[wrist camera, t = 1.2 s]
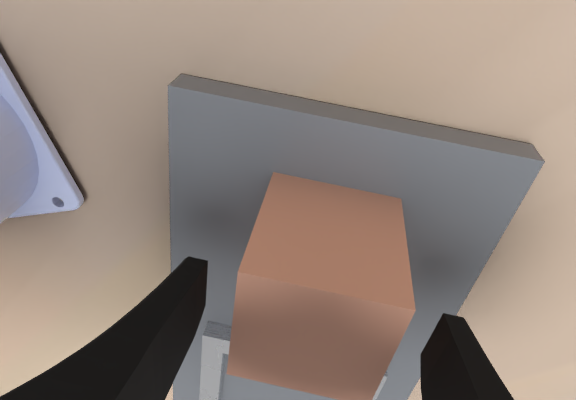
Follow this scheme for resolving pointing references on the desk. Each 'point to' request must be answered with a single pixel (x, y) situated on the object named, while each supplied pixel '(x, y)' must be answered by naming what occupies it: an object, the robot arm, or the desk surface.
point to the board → (343, 172)
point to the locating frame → (223, 361)
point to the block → (322, 290)
